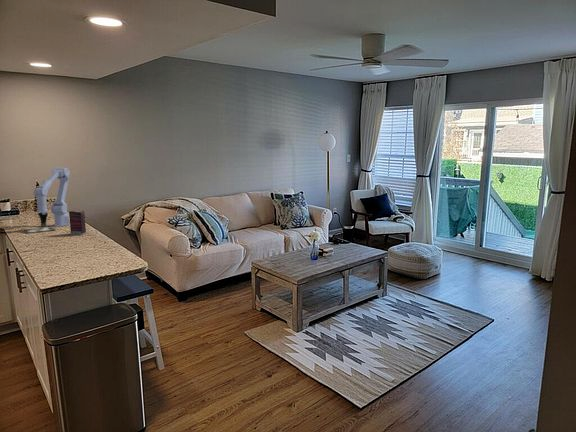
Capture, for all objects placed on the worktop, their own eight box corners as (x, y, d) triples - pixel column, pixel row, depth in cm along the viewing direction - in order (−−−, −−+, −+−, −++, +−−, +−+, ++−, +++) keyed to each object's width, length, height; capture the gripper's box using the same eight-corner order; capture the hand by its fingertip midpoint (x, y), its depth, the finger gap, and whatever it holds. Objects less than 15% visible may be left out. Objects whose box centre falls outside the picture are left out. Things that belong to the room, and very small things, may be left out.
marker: (45, 225, 289) (45, 216, 288) (46, 226, 286) (45, 216, 285) (40, 226, 287) (40, 216, 286) (41, 226, 284) (40, 217, 283)
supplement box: (86, 233, 277) (84, 211, 274) (82, 234, 272) (80, 212, 270) (74, 232, 278) (73, 210, 275) (70, 234, 273) (68, 211, 270)
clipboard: (52, 227, 295) (52, 225, 294) (55, 230, 284) (55, 228, 284) (23, 230, 284) (23, 228, 283) (25, 233, 273) (25, 231, 273)
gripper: (34, 203, 287) (35, 221, 289) (36, 205, 276) (38, 225, 278) (45, 202, 291) (47, 221, 294) (48, 205, 280) (49, 224, 282)
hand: (43, 222), depth 286 cm, fingers closed on marker, 3 cm apart
